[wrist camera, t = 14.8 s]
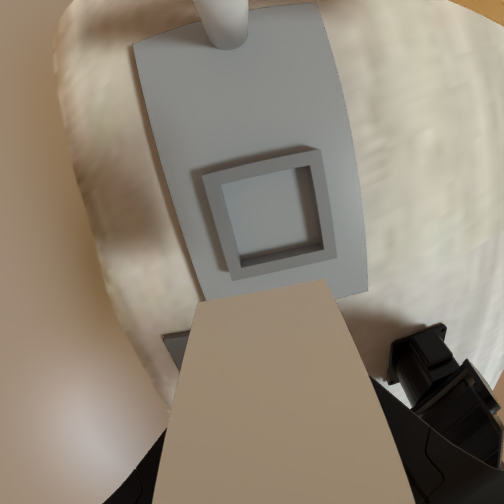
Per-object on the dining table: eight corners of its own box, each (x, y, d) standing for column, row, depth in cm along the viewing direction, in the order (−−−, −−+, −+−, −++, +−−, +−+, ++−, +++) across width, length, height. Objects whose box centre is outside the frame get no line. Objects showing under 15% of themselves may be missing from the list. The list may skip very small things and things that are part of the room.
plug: (331, 366, 11) (382, 568, 3) (229, 384, 12) (221, 587, 3) (324, 278, 10) (431, 563, 1) (198, 302, 10) (140, 585, 2)
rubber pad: (261, 378, 25) (262, 382, 25) (192, 387, 26) (191, 391, 25) (243, 322, 23) (243, 326, 22) (164, 335, 23) (162, 339, 23)
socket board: (363, 284, 22) (422, 377, 12) (215, 317, 23) (200, 426, 13) (312, 8, 14) (364, -75, 4) (137, 47, 14) (51, -5, 5)
